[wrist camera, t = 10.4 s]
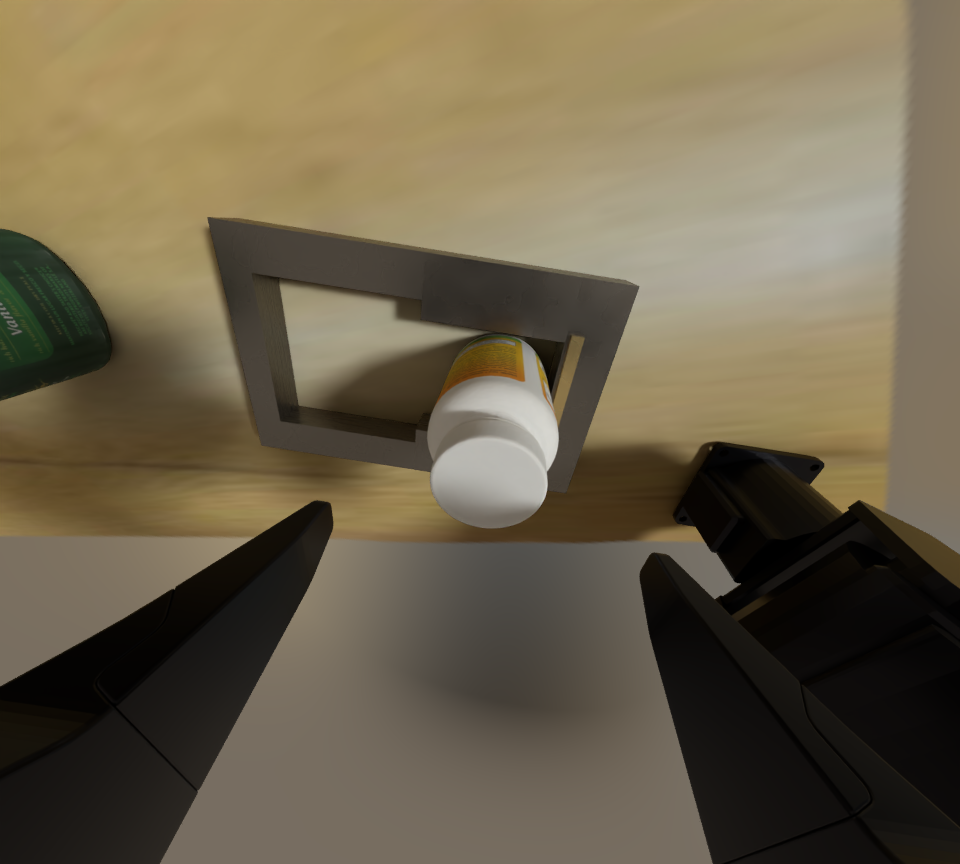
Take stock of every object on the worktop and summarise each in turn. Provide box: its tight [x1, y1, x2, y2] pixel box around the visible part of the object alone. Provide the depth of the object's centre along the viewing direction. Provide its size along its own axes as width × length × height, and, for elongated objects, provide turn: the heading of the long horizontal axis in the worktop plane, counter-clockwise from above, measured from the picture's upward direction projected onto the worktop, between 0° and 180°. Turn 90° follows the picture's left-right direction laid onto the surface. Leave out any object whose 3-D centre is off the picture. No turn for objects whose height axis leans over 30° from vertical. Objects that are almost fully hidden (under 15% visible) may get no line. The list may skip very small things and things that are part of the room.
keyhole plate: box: [207, 217, 639, 493], centre depth 19 cm, size 19×12×2 cm, turn 82°
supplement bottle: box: [427, 334, 559, 528], centre depth 16 cm, size 5×5×10 cm
